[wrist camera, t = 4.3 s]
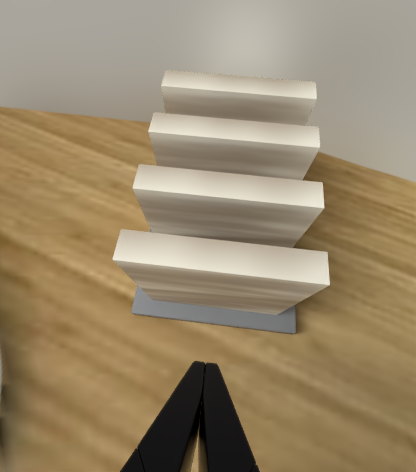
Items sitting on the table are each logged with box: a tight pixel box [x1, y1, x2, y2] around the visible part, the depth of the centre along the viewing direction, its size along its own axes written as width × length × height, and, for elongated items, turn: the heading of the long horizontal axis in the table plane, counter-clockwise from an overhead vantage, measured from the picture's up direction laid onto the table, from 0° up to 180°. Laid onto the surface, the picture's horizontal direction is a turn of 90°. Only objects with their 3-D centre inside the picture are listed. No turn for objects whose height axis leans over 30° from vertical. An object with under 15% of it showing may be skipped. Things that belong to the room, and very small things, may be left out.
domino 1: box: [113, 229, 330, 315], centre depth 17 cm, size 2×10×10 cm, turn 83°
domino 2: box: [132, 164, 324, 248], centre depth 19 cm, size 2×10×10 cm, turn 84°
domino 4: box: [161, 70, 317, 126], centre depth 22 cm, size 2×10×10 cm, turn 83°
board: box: [131, 229, 296, 334], centre depth 24 cm, size 16×13×1 cm
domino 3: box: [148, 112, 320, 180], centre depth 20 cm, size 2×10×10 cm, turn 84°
